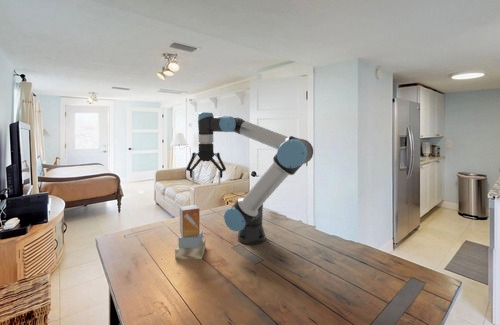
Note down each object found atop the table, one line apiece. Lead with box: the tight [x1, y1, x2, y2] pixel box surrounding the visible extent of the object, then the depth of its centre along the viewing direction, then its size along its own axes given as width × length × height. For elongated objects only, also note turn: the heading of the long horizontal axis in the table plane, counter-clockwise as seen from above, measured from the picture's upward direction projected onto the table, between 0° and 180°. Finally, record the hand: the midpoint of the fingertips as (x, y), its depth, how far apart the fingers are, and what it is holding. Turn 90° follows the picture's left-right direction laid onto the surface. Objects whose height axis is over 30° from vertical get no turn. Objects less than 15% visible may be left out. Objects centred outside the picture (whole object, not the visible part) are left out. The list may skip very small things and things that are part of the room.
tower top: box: [177, 230, 204, 249], centre depth 122 cm, size 9×9×5 cm
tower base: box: [174, 238, 206, 260], centre depth 123 cm, size 12×12×5 cm
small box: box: [179, 204, 201, 237], centre depth 121 cm, size 8×6×13 cm
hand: (206, 184), depth 134 cm, fingers open, 13 cm apart
